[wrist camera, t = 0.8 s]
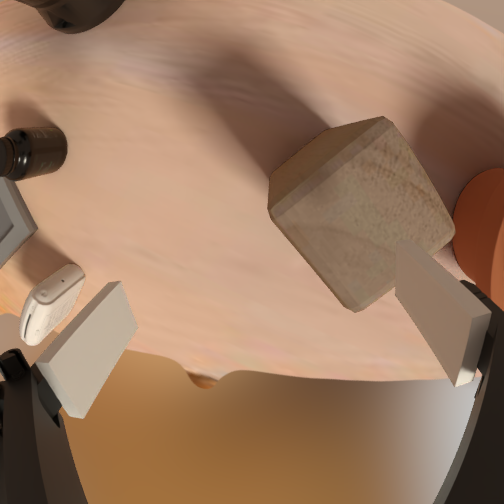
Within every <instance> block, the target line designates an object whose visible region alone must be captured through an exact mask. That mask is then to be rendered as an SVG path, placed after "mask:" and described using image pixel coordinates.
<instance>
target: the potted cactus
mask: <svg viewBox="0 0 504 504" xmlns="http://www.w3.org/2000/svg"><path fill="white" fill-rule="evenodd" d="M453 223H454V225H455V232H456V233H455V234H454V236H453V238H452V240H453V248H454V252H455V256H456V259H457V261H458V264H459V266H460V267H461V269H462V271H463V272H464V273H465V274H466V275H467V276H468V277H469V278H470V279H472V280H473V281H474V282H475V283H476V286H477V287H478V288H479V289H480V290H481V291H482V292H483V293H484V294H486V295H487V296H488V298H490V299H491V300H492V301H493V302H494V303H495V304H496V305H497V306H499V307H500V308H501V309H502V310H503V311H504V168H493V169H489V170H486V171H484V172H482V173H480V174H478V175H477V176H476V177H474V178H473V179H472V180H471V181H470V182H469V183H468V184H467V185H466V187H465V188H464V189H463V191H462V193H461V194H460V196H459V198H458V201H457V204H456V207H455V211H454V215H453Z"/></svg>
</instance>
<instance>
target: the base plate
mask: <svg viewBox="0 0 504 504" xmlns="http://www.w3.org/2000/svg"><path fill="white" fill-rule="evenodd" d="M37 229H38V227H37V225H36V224H35V222H34V220H33V218H32V216H31V214H30V212H29V210H28V208H27V206H26V204H25V202H24V200H23V198H22V196H21V194H20V192H19V190H18V188H17V186H16V184H15V182H14V181H11V180H8V179H7V178H6V177H0V269H1V268H2V267H3V265H4V264H5V263H6V262H7V261H8V260H9V259H10V258H11V256H12V255H13V254H14V253H15V252H16V251H17V250H18V249H19V248H20V247H21V246H22V245H23V244H24V243H25V241H26V240H27V239H28V238H29V237H30V236H31V235H32V234H33V233H34V232H35V231H36V230H37Z"/></svg>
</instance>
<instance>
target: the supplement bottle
mask: <svg viewBox="0 0 504 504" xmlns="http://www.w3.org/2000/svg"><path fill="white" fill-rule="evenodd" d="M66 155H67V141H66V138H65V136H64V134H63V133H62V132H61V131H60V130H59V129H57V128H54V127H36V128H17V129H13V130H11V131H9V132H8V133H7V134H6V135H5V136H4V137H1V138H0V177H6V178H7V179H8V180H11V181H20V180H24V179H28V178H32V177H36V176H41V175H45V174H49V173H53V172H55V171H57V170H58V169H59V168H60V167H61V166H62V165H63V163H64V161H65V159H66Z"/></svg>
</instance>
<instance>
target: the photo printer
mask: <svg viewBox="0 0 504 504" xmlns="http://www.w3.org/2000/svg"><path fill="white" fill-rule="evenodd" d="M84 281H85V276H84V272H83V271H82V269H81V268H80V267H79V266H77V265H75V264H70V263H69V264H67V265H65V266H64V267H62V268H61V269H59V270H58V271H56V272H55V273H53V274H52V275H50V276H49V277H48V278H46V279H45V280H43V281H42V282H41V283H39V284H38V285H36V286H35V287H34V288H33V289H32V290H31V292H30V293H29V295H28V297H27V299H26V301H25V304H24V307H23V310H22V313H21V317H20V324H19V331H20V336H21V338H22V340H24V341H25V342H26V344H28V345H32V346H33V345H37V344H39V343H40V342H41V341H42V340H43V339H44V338H45V337H46V336H47V335H48V334H49V333H50V332H51V331H52V330H53V329H54V328H55V327H56V326H57V325H58V324H59V323H60V322H61V321H62V320H63V319H64V318H65V317H66V316H67V315H68V314H69V313H70V311H71V310H72V308H73V306H74V304H75V302H76V300H77V297H78V295H79V293H80V291H81V289H82V286H83V284H84Z"/></svg>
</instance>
